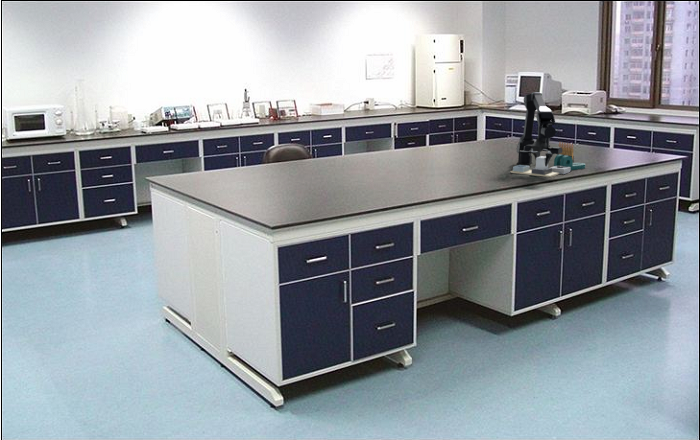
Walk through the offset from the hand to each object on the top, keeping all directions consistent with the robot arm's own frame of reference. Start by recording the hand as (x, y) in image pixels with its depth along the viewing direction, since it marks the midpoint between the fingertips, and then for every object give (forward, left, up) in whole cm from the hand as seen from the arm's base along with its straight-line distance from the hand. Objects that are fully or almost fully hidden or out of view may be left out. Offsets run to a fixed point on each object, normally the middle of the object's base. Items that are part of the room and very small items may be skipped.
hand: (542, 165), depth 368 cm
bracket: (+5, +25, -5) cm, 26 cm away
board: (-4, 0, -4) cm, 6 cm away
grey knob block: (+5, +11, -4) cm, 13 cm away
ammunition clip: (-4, +38, -5) cm, 38 cm away
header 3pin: (-11, 0, -4) cm, 12 cm away
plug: (0, 0, -2) cm, 2 cm away
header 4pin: (0, 0, -4) cm, 4 cm away
